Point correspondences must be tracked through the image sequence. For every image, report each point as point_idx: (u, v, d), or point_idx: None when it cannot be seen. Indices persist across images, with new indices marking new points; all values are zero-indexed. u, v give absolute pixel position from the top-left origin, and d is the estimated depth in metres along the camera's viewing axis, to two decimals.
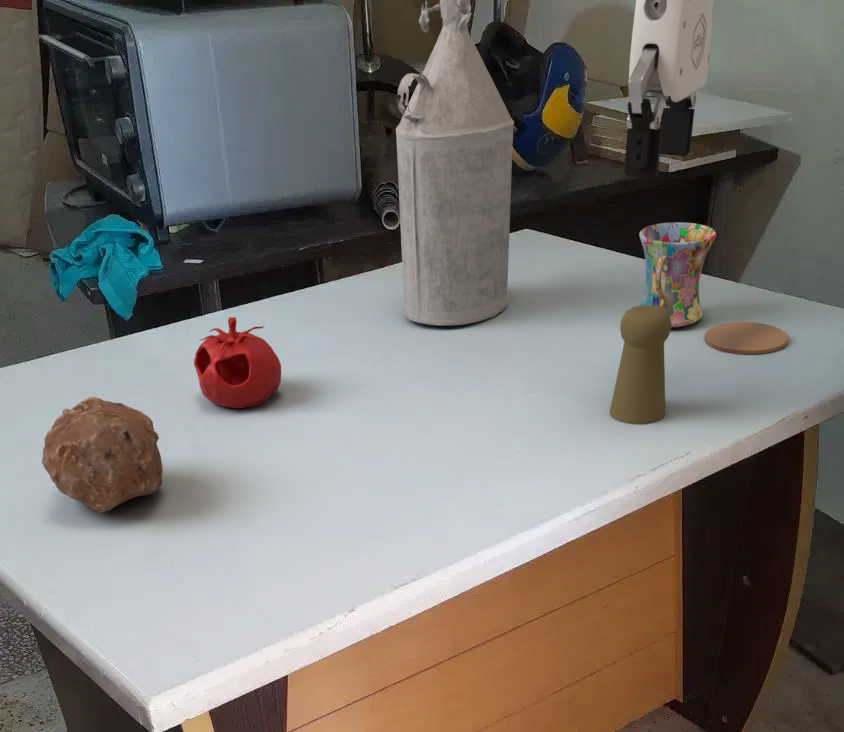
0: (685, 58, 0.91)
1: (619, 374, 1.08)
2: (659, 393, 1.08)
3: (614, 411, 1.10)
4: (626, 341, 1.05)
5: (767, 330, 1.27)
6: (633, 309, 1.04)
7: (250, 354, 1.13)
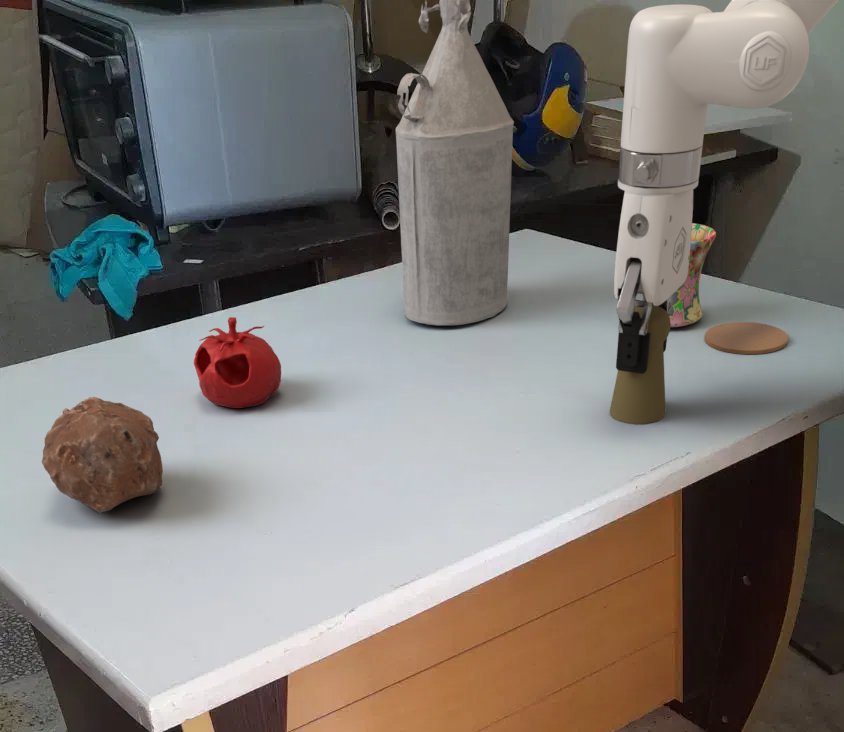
0: (666, 269, 0.97)
1: (619, 374, 1.08)
2: (659, 393, 1.08)
3: (614, 411, 1.10)
4: None
5: (767, 330, 1.27)
6: None
7: (250, 354, 1.13)
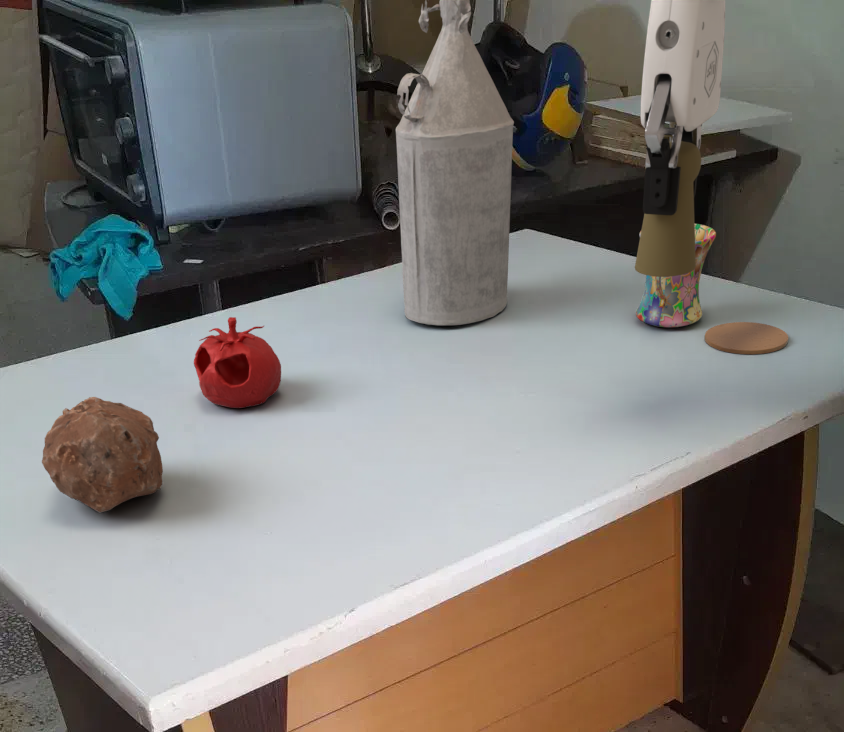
0: (698, 87, 0.89)
1: (645, 222, 0.99)
2: (689, 241, 0.99)
3: (640, 265, 1.01)
4: None
5: (767, 330, 1.27)
6: None
7: (250, 354, 1.13)
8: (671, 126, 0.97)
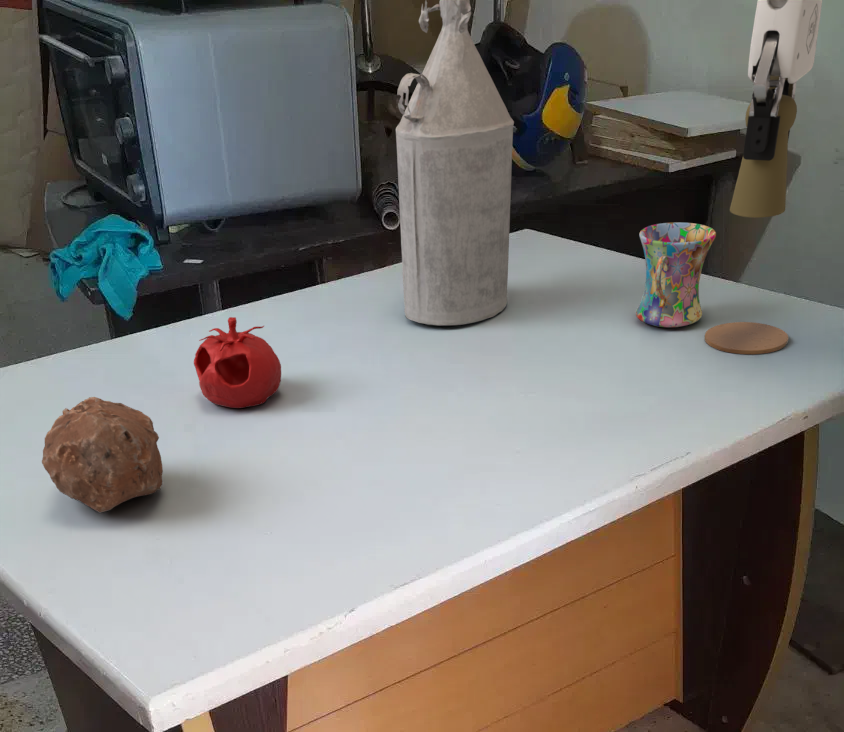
0: (802, 43, 1.00)
1: (742, 167, 1.11)
2: (782, 185, 1.11)
3: (736, 207, 1.13)
4: None
5: (767, 330, 1.27)
6: None
7: (250, 354, 1.13)
8: None
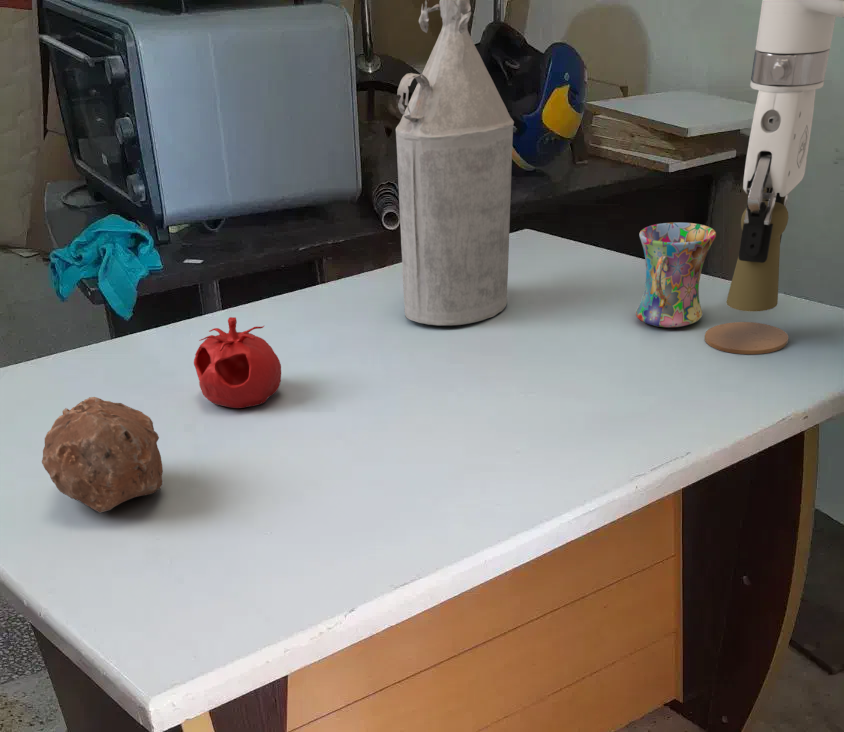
0: (792, 162, 1.09)
1: (738, 266, 1.20)
2: (774, 282, 1.20)
3: (731, 301, 1.22)
4: None
5: (767, 330, 1.27)
6: None
7: (250, 354, 1.13)
8: (764, 188, 1.17)
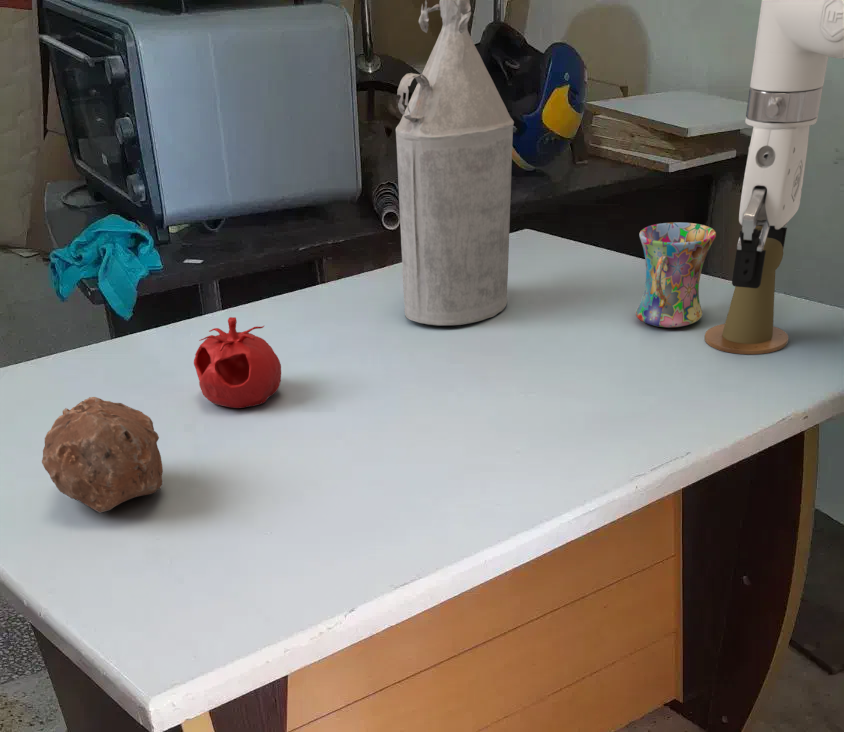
0: (787, 196, 1.12)
1: (734, 299, 1.23)
2: (769, 316, 1.22)
3: (727, 333, 1.25)
4: None
5: None
6: None
7: (250, 354, 1.13)
8: None
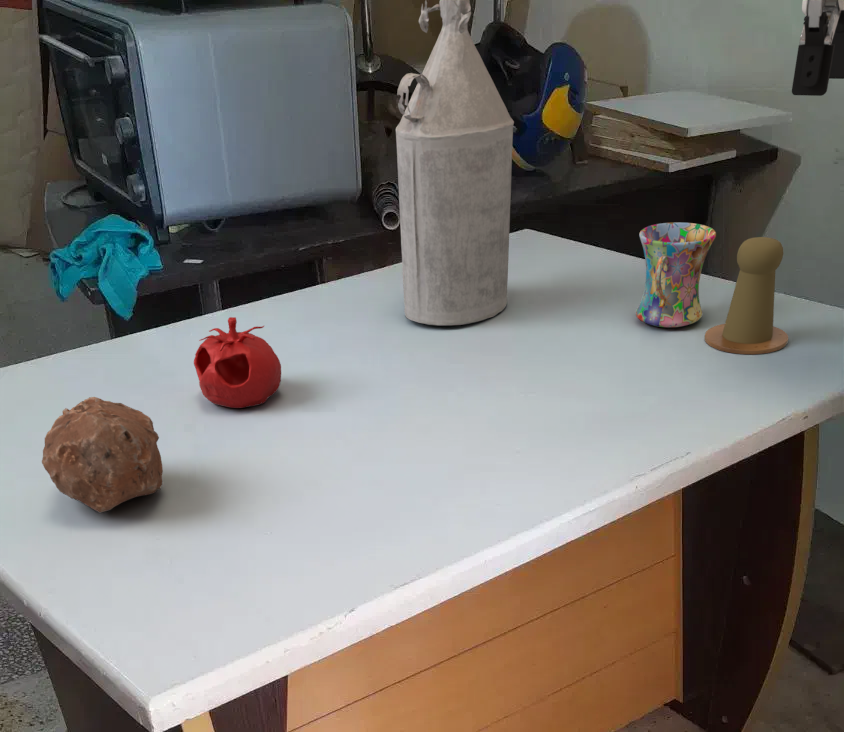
0: None
1: (734, 299, 1.23)
2: (769, 316, 1.22)
3: (727, 333, 1.25)
4: (743, 268, 1.20)
5: None
6: (750, 240, 1.19)
7: (250, 354, 1.13)
8: None
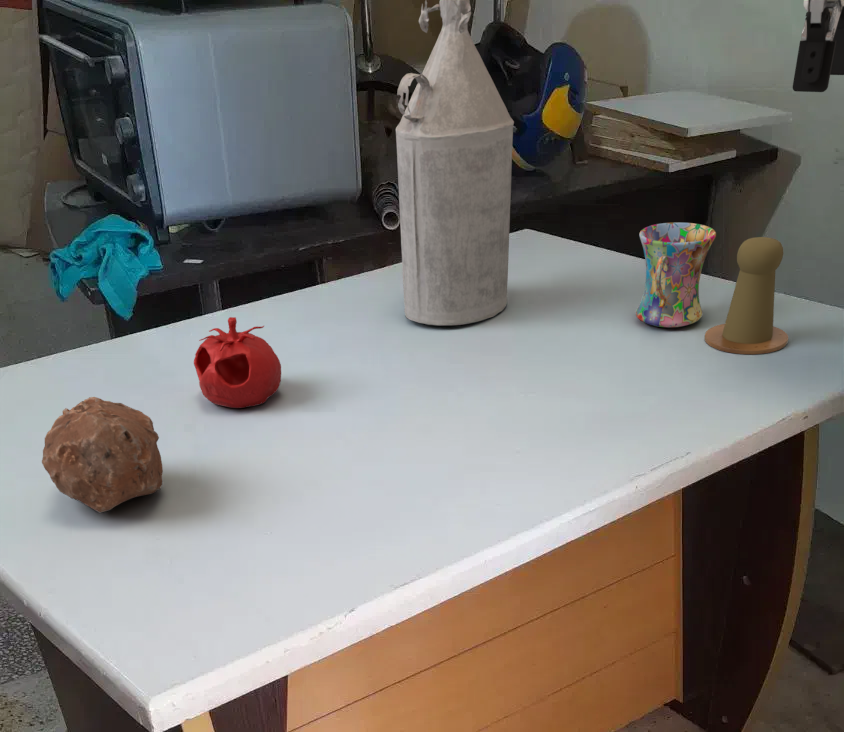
0: None
1: (734, 299, 1.23)
2: (769, 316, 1.22)
3: (727, 333, 1.25)
4: (743, 268, 1.20)
5: None
6: (750, 240, 1.19)
7: (250, 354, 1.13)
8: None
